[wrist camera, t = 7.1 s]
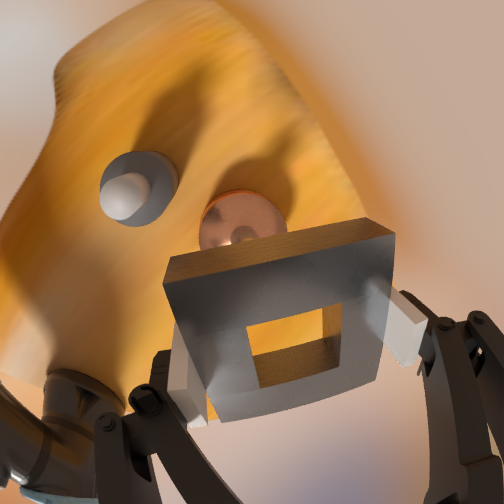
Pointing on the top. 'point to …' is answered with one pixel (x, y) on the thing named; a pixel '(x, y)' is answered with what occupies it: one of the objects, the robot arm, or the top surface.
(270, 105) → the top surface
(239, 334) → the hollow square frame
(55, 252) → the top surface
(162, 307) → the top surface
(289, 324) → the top surface
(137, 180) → the stand
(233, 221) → the hub
